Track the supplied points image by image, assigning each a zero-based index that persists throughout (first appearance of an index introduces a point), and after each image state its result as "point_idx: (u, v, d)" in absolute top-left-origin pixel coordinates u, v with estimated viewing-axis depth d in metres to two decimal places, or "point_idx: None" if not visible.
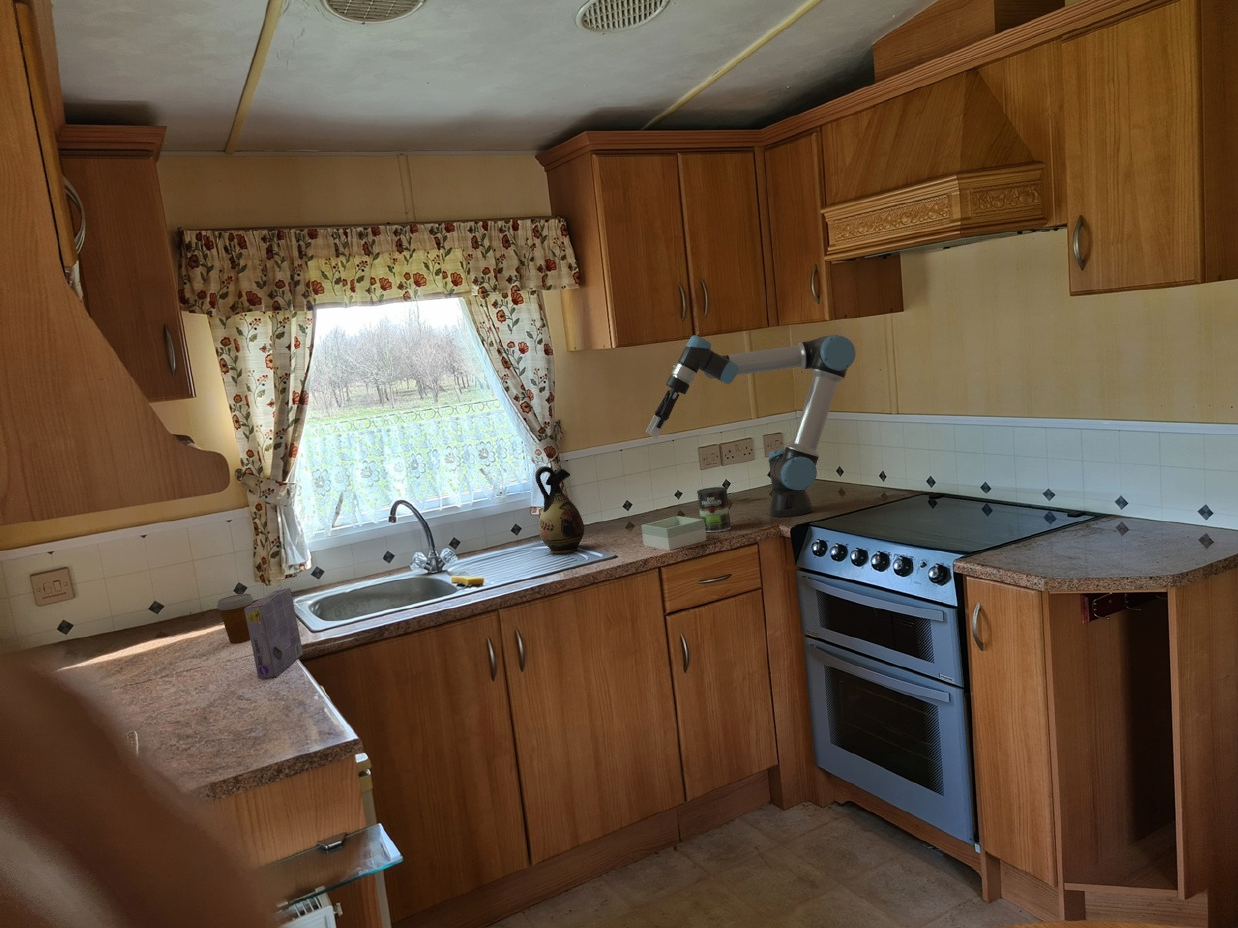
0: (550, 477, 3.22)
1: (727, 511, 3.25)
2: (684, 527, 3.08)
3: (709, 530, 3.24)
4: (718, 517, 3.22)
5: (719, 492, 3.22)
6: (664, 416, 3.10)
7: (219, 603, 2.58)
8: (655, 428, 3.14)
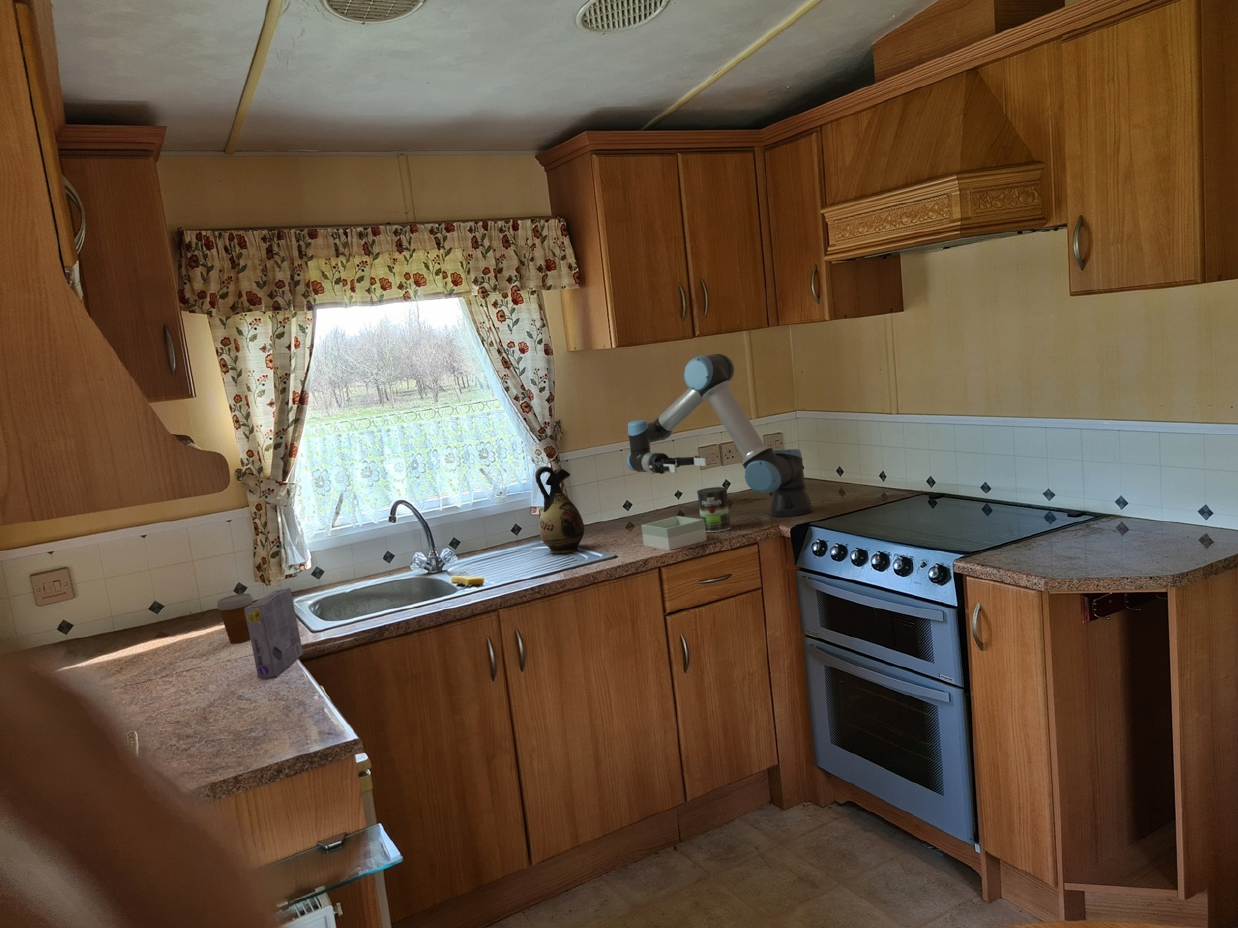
0: (550, 477, 3.22)
1: (727, 511, 3.25)
2: (684, 527, 3.08)
3: (709, 530, 3.24)
4: (718, 517, 3.22)
5: (719, 492, 3.22)
6: (655, 469, 3.35)
7: (219, 603, 2.58)
8: (670, 470, 3.33)
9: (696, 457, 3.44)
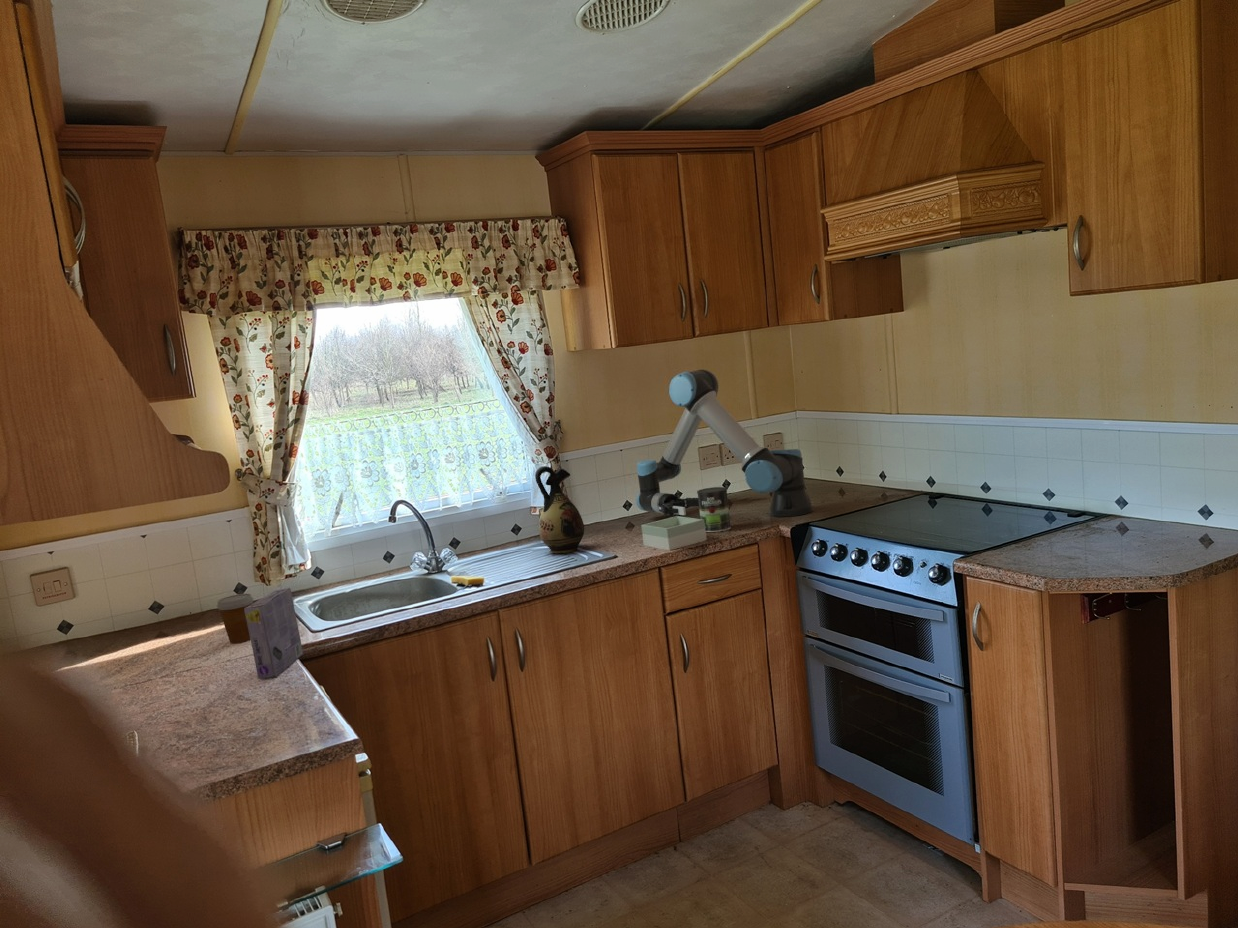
0: (550, 477, 3.22)
1: (727, 511, 3.25)
2: (684, 527, 3.08)
3: (709, 530, 3.24)
4: (718, 517, 3.22)
5: (719, 492, 3.22)
6: (664, 512, 3.35)
7: (219, 603, 2.58)
8: (679, 512, 3.32)
9: None
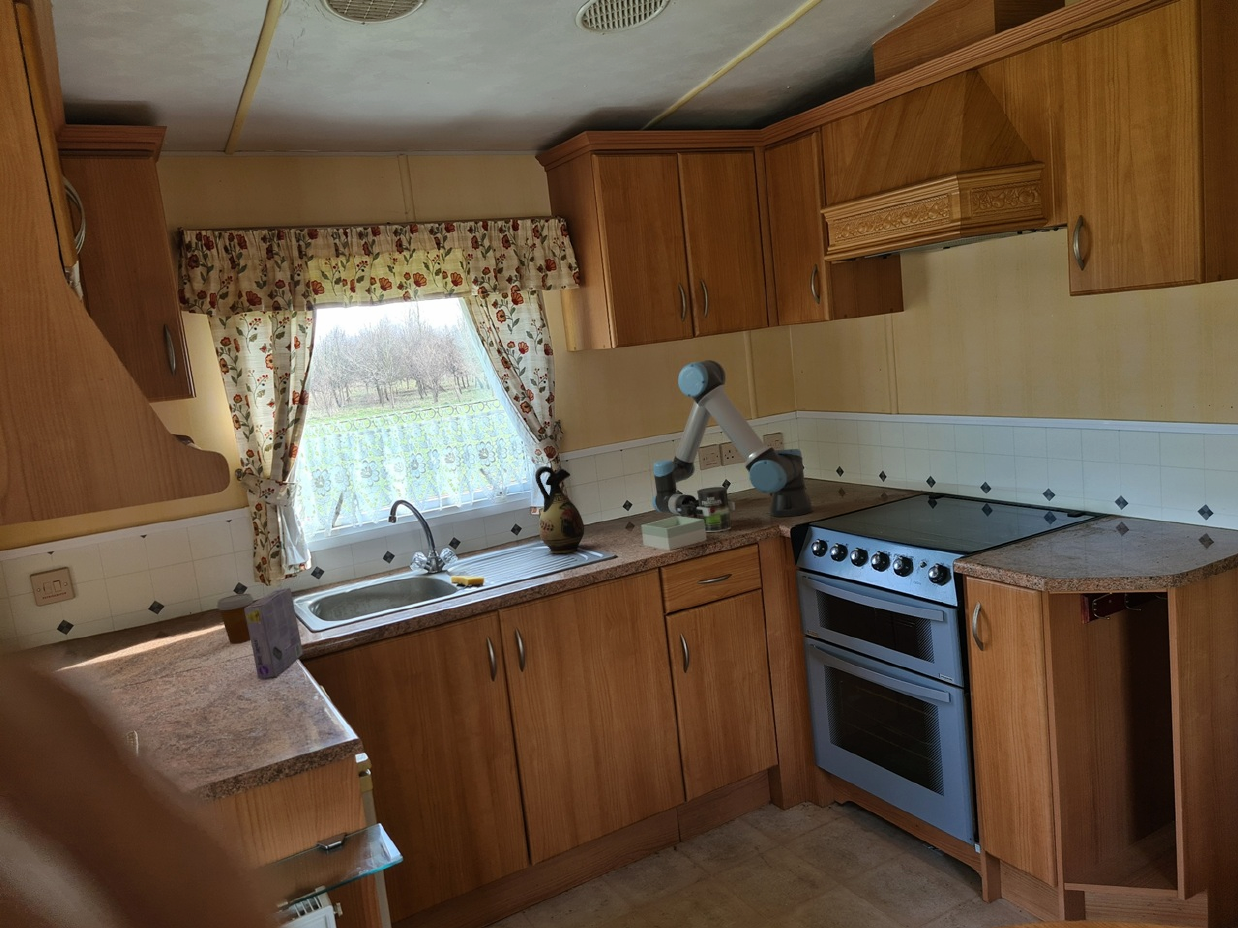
0: (550, 477, 3.22)
1: (727, 511, 3.25)
2: (684, 527, 3.08)
3: (709, 530, 3.24)
4: (719, 517, 3.22)
5: (719, 492, 3.22)
6: (688, 513, 3.25)
7: (219, 603, 2.58)
8: (703, 513, 3.23)
9: None
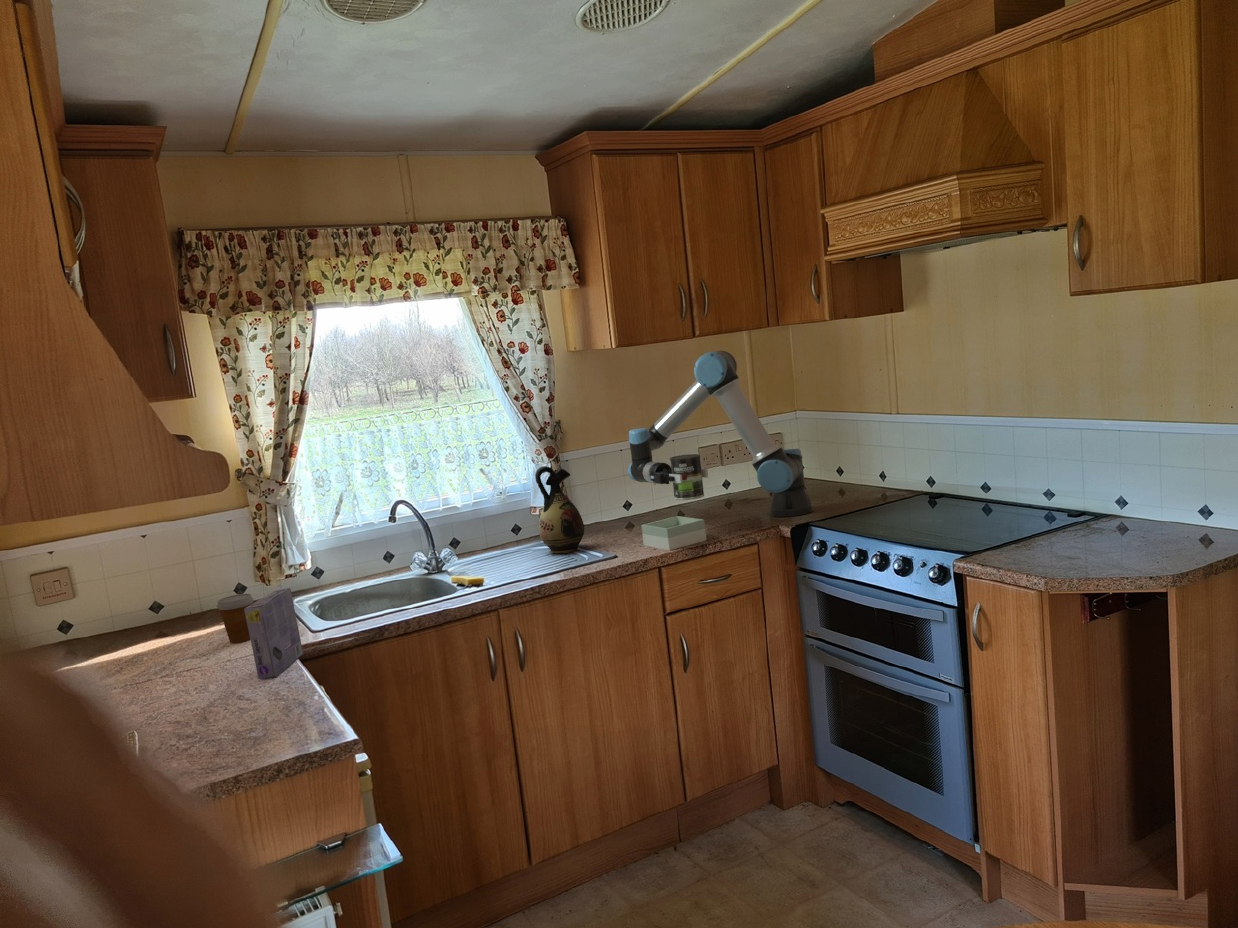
0: (550, 477, 3.22)
1: (700, 478, 3.19)
2: (684, 527, 3.08)
3: (681, 497, 3.18)
4: (691, 484, 3.17)
5: (691, 459, 3.16)
6: (660, 479, 3.20)
7: (219, 603, 2.58)
8: (675, 480, 3.17)
9: None
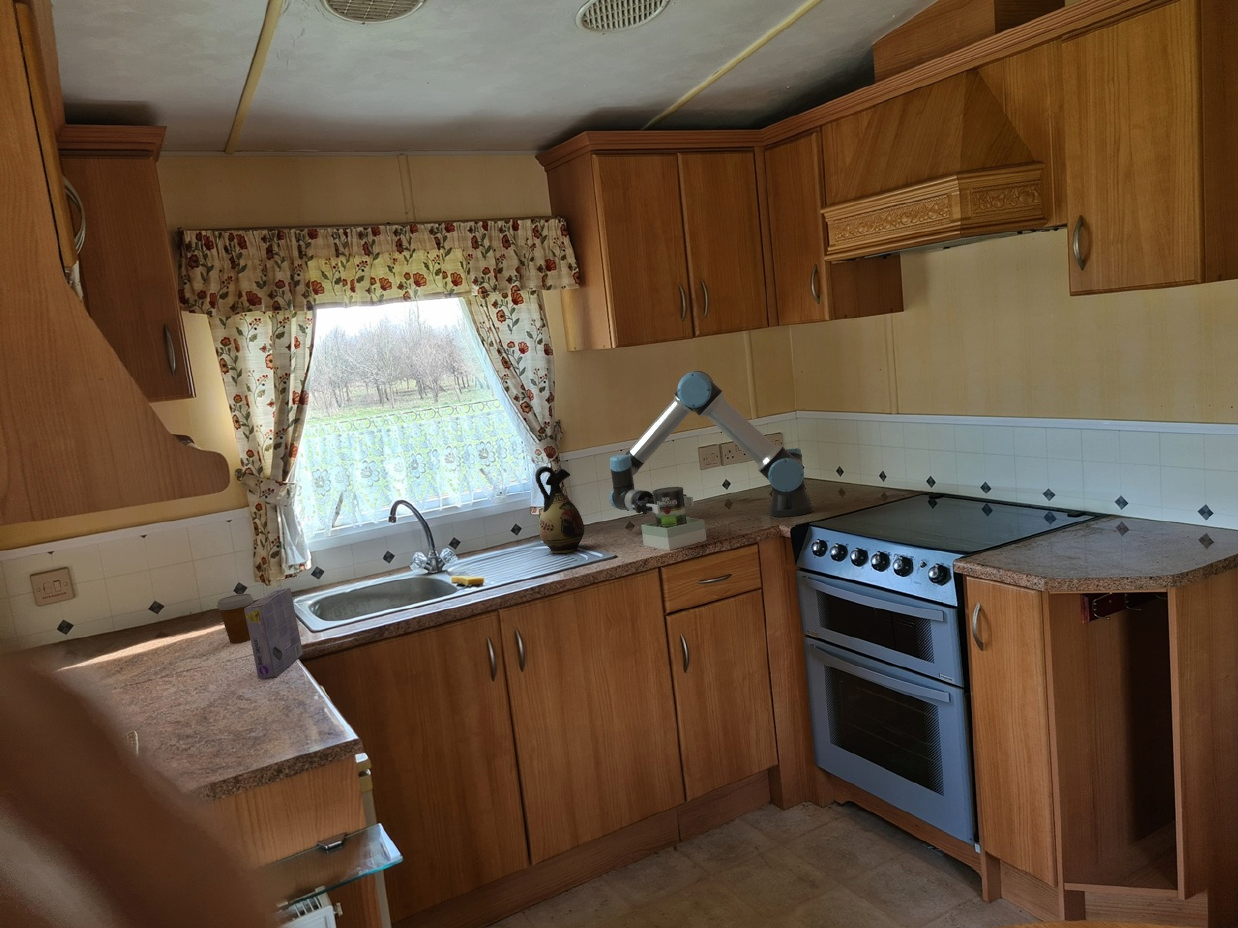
0: (550, 477, 3.22)
1: (683, 512, 3.11)
2: (684, 527, 3.08)
3: None
4: (674, 518, 3.09)
5: (674, 492, 3.08)
6: (637, 510, 3.12)
7: (219, 603, 2.58)
8: (653, 510, 3.09)
9: None
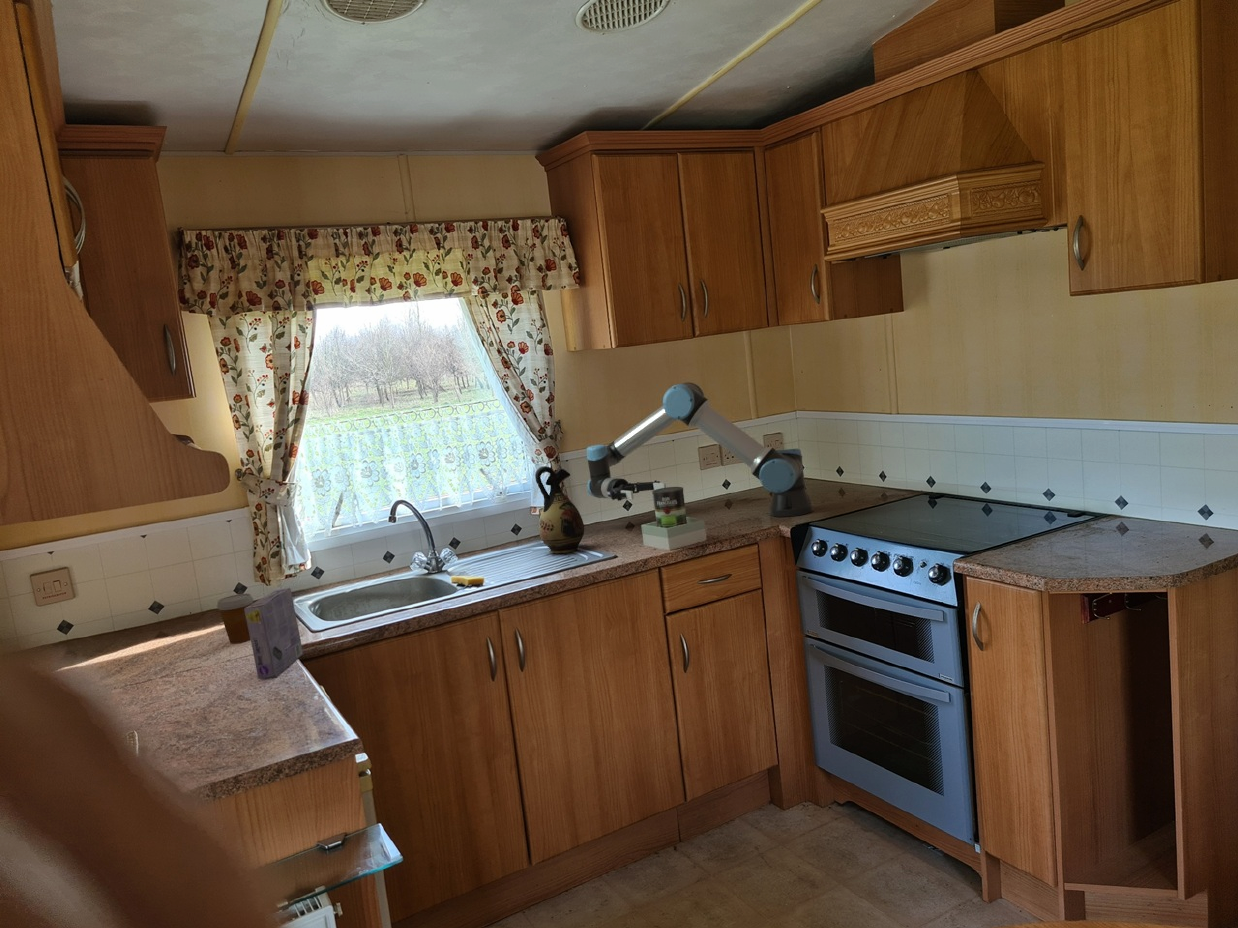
0: (550, 477, 3.22)
1: (683, 512, 3.11)
2: (684, 527, 3.08)
3: None
4: (674, 518, 3.09)
5: (675, 492, 3.08)
6: (612, 496, 3.24)
7: (219, 603, 2.58)
8: (627, 496, 3.21)
9: (656, 482, 3.32)
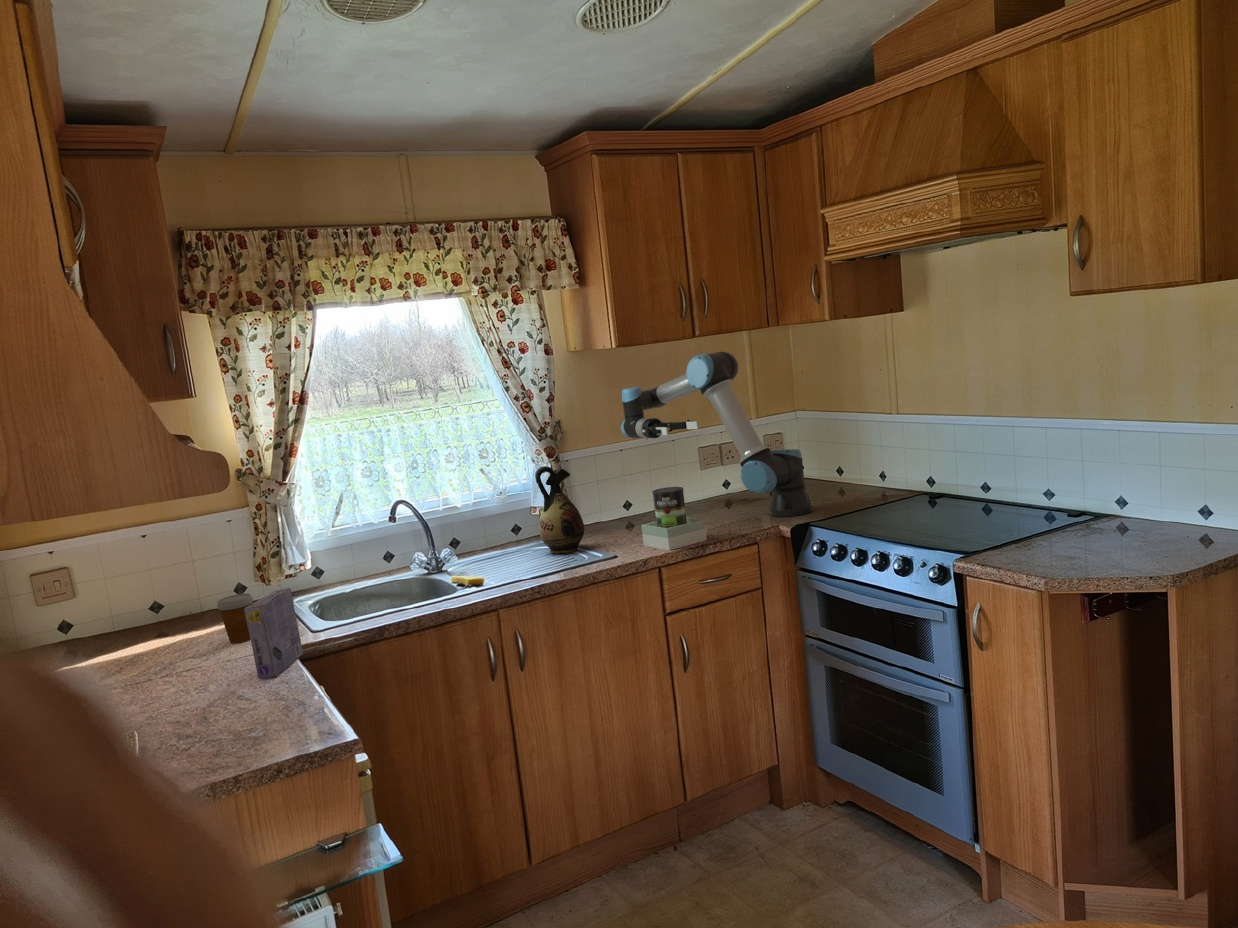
0: (550, 477, 3.22)
1: (683, 512, 3.11)
2: (684, 527, 3.08)
3: None
4: (674, 518, 3.09)
5: (675, 492, 3.08)
6: (647, 433, 3.41)
7: (219, 603, 2.58)
8: (662, 432, 3.38)
9: (688, 421, 3.49)
